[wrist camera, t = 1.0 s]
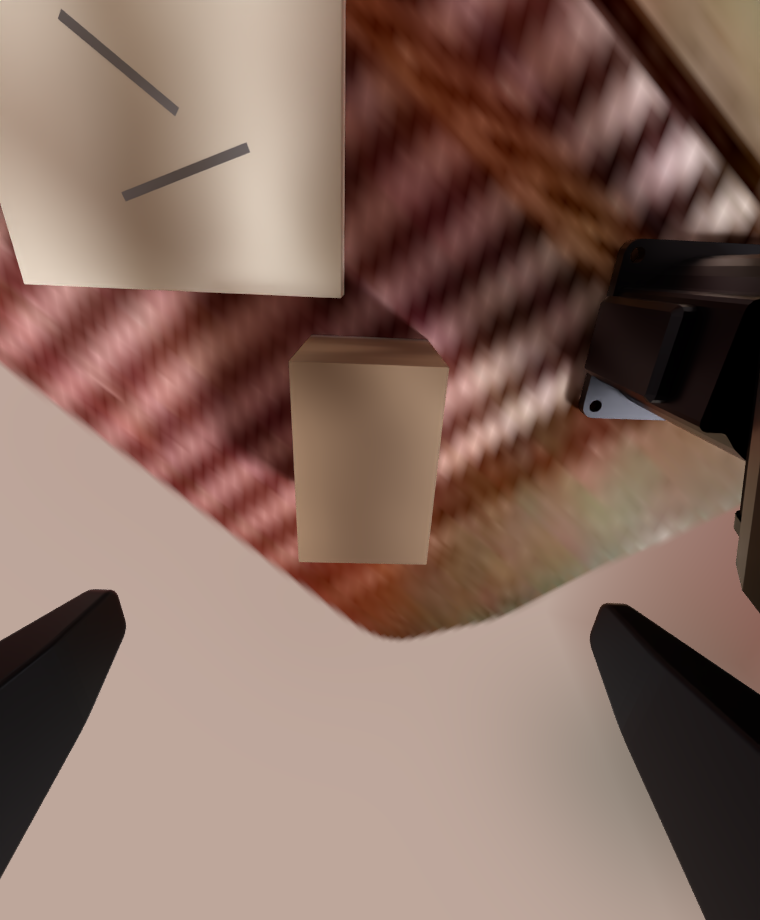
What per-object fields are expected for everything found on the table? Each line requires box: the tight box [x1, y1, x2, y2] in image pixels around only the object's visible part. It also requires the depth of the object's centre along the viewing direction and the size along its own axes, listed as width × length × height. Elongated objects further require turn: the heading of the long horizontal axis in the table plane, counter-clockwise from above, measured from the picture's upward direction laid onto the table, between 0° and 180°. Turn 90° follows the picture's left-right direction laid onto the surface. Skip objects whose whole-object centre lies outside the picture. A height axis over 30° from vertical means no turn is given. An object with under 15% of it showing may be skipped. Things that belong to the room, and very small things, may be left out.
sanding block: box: [289, 335, 449, 565], centre depth 15 cm, size 4×7×5 cm, turn 177°
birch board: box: [0, 0, 346, 298], centre depth 12 cm, size 10×10×2 cm
